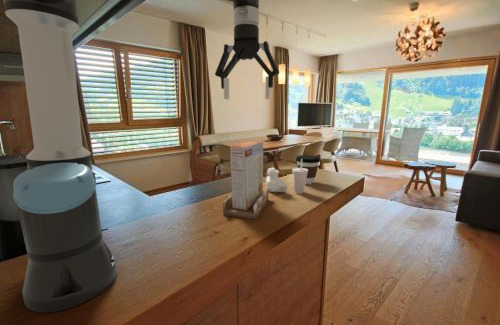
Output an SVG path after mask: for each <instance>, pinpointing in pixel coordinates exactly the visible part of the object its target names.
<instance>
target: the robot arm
mask: <svg viewBox="0 0 500 325" xmlns="http://www.w3.org/2000/svg"><path fill="white" fill-rule="evenodd" d="M226 1H228V2H232V4H233V5H232V6H233V25H234V27H233V45H232V44H231V45H229V44H227V43H225V44H224V45H223V53H222V55H221V58H220V60H219V63H218V65H217V68H216V71H215V72H214V75H215V76H216V77H219V78H220V84H221V86H220V87H221V89H222V90H223V99H224V100H230V79H229V78H228V77H229V75H230V74H231V72H232V70H233V69H234V68H235V66H236V65H237V63H239V62H240V61H241V60H242V61H245V60H253V59H254V60H256V61H257V63H258V64H259V65H260V67H261V68H262V70H264V72H265V73H266V74H267V76H265V92H264V93H265V99H266V100H270V99H271V98H270V96H271V94H270V92H271V89H272V88H274V78H275V76H277V75H279V74H280V70H279V68H278V66H277V64H276V61H275V60H274V57H273V55H272V53H271V51H270V44H269V43H268V41H267V40H264V42H260V40H259V39H260V38H259V35H260V34H259V33H260V31H259V30H260V29H259V28H260V27H258V26H259V24H260V14H259V13H260V12H259V11H260V9H259V7H260V0H226ZM3 6H4V13H5V16H6V17H7V18H8V19H10V20H11V21H12V22H13V23H14V24H15V25H16V27H17V30H18V36H19V38H18V39H19V45H20V51H21V52H20V53H21V58H22V59H21V61H22V66H23V74H24V82H25V89H26V98H27V104H28V112H29V119H30V120H29V121H30V127H31V134H32V141H33V142H32V143H33V149H32V150H31V151H30V152H29V153H28V154H27V155H26V156H25V159H26V166H27V170H26V169H25V171H23V172H21V173H20V174H18V175H17V176H16V177H15V179H14V180H13V185H12V186H13V192H12V197H13V200H14V202H15V205H16V209H17V213H18V218H19V222H20V226H21V232H22V236H23V239H24V245H25V247H26V248H25V249H26V252H27V253H26V254H27V259H28V261H27V267H26V271H25V276H24V281H23V286H22V289H21V291H22V293H21V294H22V298H23V303H24V305H25V307H26V308H27V309H28V310H29V311H33V312H36V313H54V312H60V311H64V310H68V309H71V308H75V307H77V306H79V305H82V304H84V303H86V302H88V301H90V300H92V299H93V298H95V297H97V296H98V295H100V294H101V293H102V292H104V291H105V290H106V289H108V288H109V287H110V285H111V284H112V283H113V282H114V280H115V279H116V277H117V273H118V269H117V268H118V267H117V262H116V259H115V257H114V255H113V254H112V252H111V250H110V249H109V246H108V245H107V244H106V242H105V240H104V237H103V233H102V224H101V217H100V210H99V203H98V196H97V190H96V188H97V182H96V178H95V177H94V171H93V162H92V153H91V151H89V150H88V149H87V148H85V147H84V146H83V138H82V129H81V128H82V127H81V126H82V125H81V119H80V109H79V106H80V105H79V99H78V98H79V97H78V87H77V86H78V85H77V78H76V76H77V75H76V67H75V56H74V46H73V35H74V34H75V33H76V32H77V31H79V30H80V22H79V20H80V19H79V10H78V9H79V8H78V0H3ZM260 49H261V50H262V51H264V53H265V55H266V58H267V60H268V62H269V64H270V67H271V69H272V71H271V69H270V68H269V66H268V65H267V64H266V63H265V62H264V60H263V59H262V58H261V57H260V55H259V54H258V52H259V51H260ZM233 51H234V54H233V55H232V58H231V59H230V61H229V62H228V60H229V58H230V56H231V54H232V53H233ZM227 62H228V64H227Z"/></svg>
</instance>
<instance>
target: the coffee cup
mask: <svg viewBox="0 0 500 325" xmlns="http://www.w3.org/2000/svg"><path fill="white" fill-rule="evenodd" d="M301 159H302V168H305V169H308V173H307V178H306V184H305V185H311V184H310V183H313V184H314V182H315V180H316V176H317V172H318V168H319V163H320V162H321V159H320V157H319V156H318V155H312V154H311V155H310V154H300V155H297V156H296V158H295V161H296V168H301Z"/></svg>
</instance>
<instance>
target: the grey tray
mask: <svg viewBox="0 0 500 325" xmlns="http://www.w3.org/2000/svg"><path fill="white" fill-rule="evenodd" d="M269 194H270V191H269V190H268V188H267V187H266V188H265V189H263V193H262V194H261V196H260V197H259V199H258V200H257V201H256V203H255V204H254V205H253V206H252V207H251V208H249V209H248V210H247V211H246V210H241V209H235V208H232V193H231V194H229V195H228V197H227V198H225V199H224V200H223V202H222V215H223V216H225V217H234V218H242V219H249V220H257V219H258V217H260V214H261V212H262V210H263V209H264V208H265V206H266V204H267V202H268V201H269Z"/></svg>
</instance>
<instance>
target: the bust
mask: <svg viewBox="0 0 500 325" xmlns="http://www.w3.org/2000/svg"><path fill="white" fill-rule="evenodd" d="M266 174H267V176H266V178H265V185H266V188H268V191H269V192H271V193H283V194H284V193H285V194H286V192H287V191H288V185H287V183H286V181H285V180H283V179H281V178H280V177H279V174H280V171H279V170H278V169H276V168H275V167H273V166H272V167H269V168H268V169H267V170H266Z"/></svg>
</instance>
